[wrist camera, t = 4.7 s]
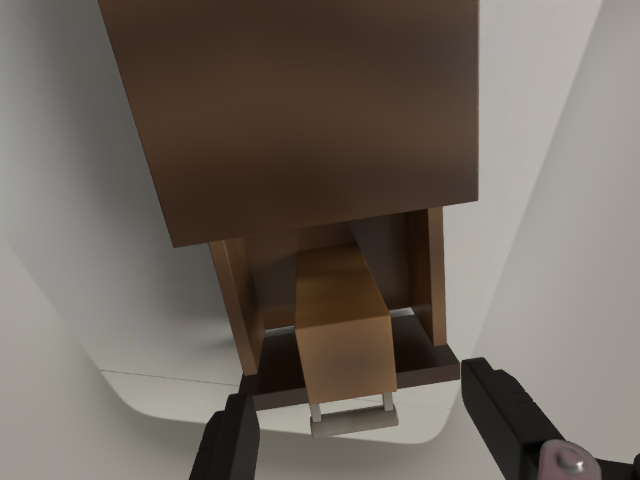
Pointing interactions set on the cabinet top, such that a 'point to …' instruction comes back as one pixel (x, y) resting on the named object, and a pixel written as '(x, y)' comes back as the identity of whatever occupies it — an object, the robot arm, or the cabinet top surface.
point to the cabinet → (299, 108)
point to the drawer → (280, 297)
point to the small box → (342, 326)
